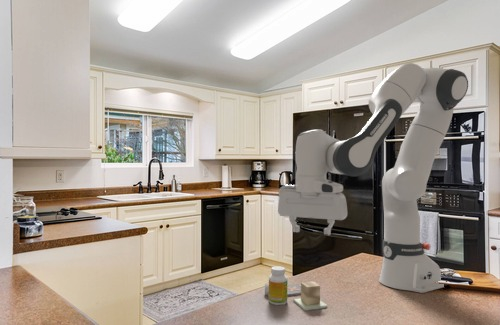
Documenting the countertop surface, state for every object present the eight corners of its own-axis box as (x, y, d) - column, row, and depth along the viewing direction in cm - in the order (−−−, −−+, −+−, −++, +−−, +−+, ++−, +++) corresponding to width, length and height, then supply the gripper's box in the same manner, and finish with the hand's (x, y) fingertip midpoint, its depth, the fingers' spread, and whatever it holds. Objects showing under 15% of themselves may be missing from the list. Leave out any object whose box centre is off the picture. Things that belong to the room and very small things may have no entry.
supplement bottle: (286, 306, 99) (286, 271, 99) (267, 304, 100) (267, 270, 100) (288, 299, 105) (288, 266, 105) (269, 297, 106) (270, 264, 106)
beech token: (313, 298, 103) (313, 281, 103) (320, 303, 99) (320, 285, 99) (300, 299, 102) (301, 282, 102) (307, 305, 98) (307, 287, 98)
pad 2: (314, 298, 105) (314, 296, 105) (327, 307, 99) (327, 305, 99) (293, 301, 103) (293, 298, 103) (304, 310, 96) (304, 308, 96)
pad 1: (298, 286, 116) (298, 284, 116) (308, 293, 109) (308, 291, 109) (278, 288, 113) (278, 286, 113) (287, 296, 107) (287, 293, 107)
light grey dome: (277, 290, 112) (277, 281, 112) (284, 296, 107) (284, 286, 107) (262, 292, 110) (262, 282, 110) (268, 298, 105) (268, 288, 105)
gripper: (274, 185, 106) (274, 232, 105) (342, 187, 95) (343, 238, 95) (283, 184, 111) (283, 228, 111) (348, 185, 101) (349, 234, 101)
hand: (311, 233), depth 103 cm, fingers open, 8 cm apart
